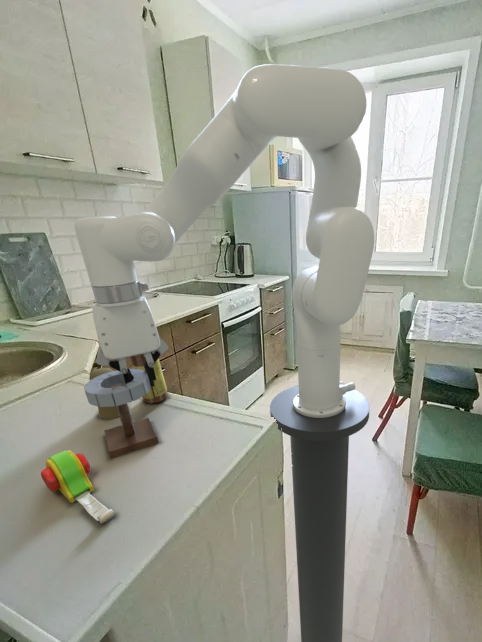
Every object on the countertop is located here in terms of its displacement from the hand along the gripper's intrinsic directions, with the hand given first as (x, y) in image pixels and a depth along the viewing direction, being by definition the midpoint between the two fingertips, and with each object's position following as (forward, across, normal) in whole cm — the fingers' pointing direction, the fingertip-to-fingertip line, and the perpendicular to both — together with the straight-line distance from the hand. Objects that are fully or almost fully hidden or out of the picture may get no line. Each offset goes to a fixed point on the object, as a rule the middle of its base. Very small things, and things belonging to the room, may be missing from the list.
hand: (142, 385), depth 70 cm
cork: (+11, +6, -15) cm, 20 cm away
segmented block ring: (0, +4, 0) cm, 4 cm away
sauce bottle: (+11, -4, -16) cm, 20 cm away
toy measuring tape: (+11, +14, +13) cm, 22 cm away
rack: (+11, +4, 0) cm, 12 cm away
